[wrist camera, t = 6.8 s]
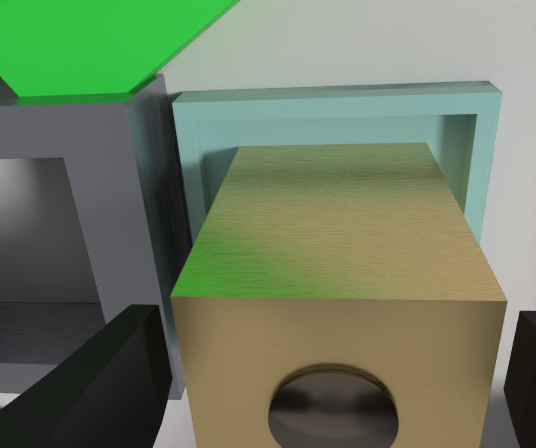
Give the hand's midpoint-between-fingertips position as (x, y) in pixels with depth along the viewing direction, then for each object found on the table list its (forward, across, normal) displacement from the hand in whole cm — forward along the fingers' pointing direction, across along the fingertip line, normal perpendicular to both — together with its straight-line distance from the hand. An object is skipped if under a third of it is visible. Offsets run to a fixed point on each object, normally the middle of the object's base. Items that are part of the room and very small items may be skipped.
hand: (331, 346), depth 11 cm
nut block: (+5, 0, 0) cm, 5 cm away
